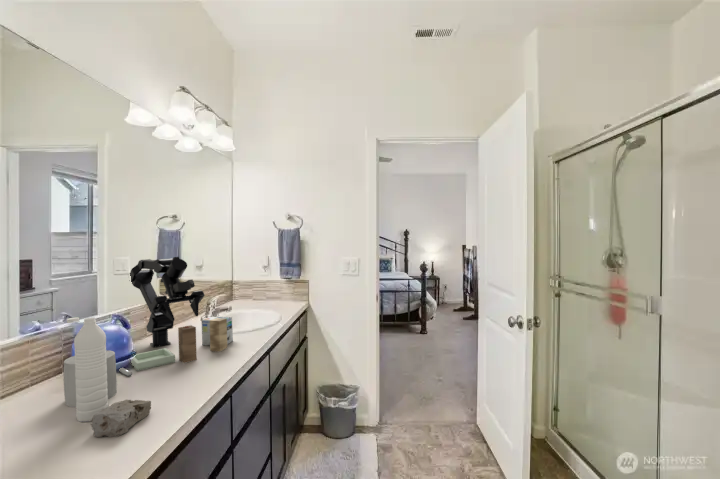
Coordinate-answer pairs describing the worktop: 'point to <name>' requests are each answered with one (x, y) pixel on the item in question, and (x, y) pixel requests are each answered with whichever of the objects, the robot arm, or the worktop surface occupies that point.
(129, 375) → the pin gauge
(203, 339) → the light bulb box
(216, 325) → the oak block
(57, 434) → the worktop surface
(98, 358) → the water bottle
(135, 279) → the robot arm
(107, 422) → the stone
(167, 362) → the tray
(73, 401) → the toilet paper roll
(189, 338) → the walnut block
